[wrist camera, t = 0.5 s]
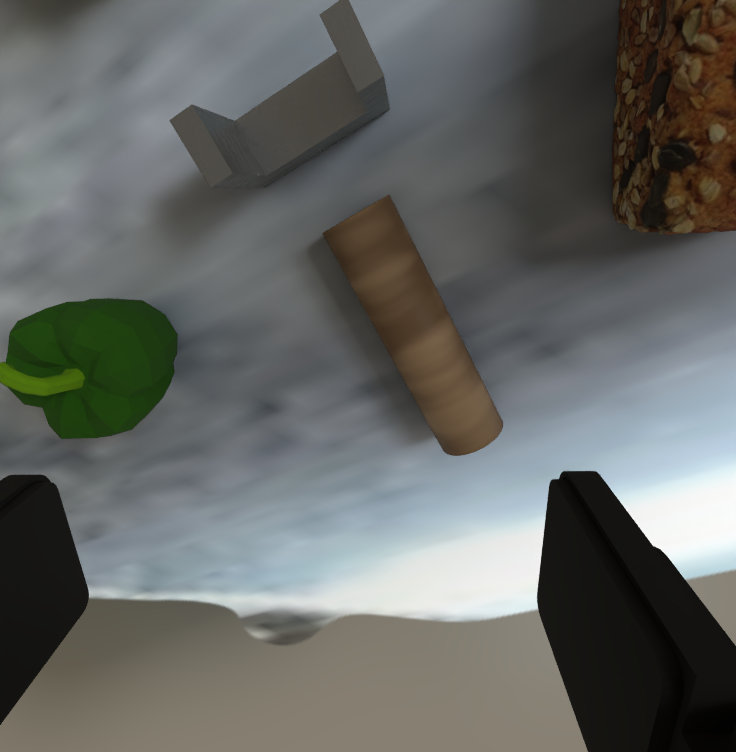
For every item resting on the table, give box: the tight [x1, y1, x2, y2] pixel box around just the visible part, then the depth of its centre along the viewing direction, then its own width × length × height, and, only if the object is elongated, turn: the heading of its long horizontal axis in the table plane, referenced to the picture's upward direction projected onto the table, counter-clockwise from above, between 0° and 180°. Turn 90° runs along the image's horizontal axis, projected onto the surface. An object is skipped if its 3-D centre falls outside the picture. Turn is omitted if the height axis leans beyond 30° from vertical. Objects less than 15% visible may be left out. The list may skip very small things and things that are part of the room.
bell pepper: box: [0, 299, 177, 439], centre depth 29 cm, size 8×8×10 cm
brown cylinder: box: [322, 195, 503, 456], centre depth 30 cm, size 16×4×4 cm, turn 29°
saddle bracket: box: [169, 0, 390, 188], centre depth 24 cm, size 9×3×9 cm, turn 119°
